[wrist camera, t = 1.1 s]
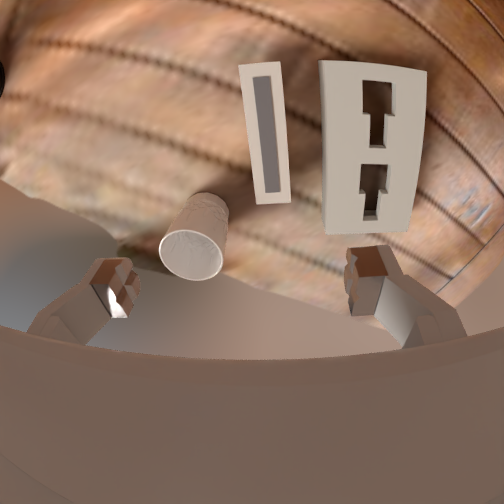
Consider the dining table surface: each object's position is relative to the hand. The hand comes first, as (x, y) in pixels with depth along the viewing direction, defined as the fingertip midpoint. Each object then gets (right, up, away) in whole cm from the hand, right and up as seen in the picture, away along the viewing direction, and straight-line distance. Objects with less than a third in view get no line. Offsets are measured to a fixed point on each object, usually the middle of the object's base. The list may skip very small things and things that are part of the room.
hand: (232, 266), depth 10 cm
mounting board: (+15, +14, +22) cm, 30 cm away
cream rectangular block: (+3, +16, +22) cm, 27 cm away
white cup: (-6, +6, +31) cm, 32 cm away
